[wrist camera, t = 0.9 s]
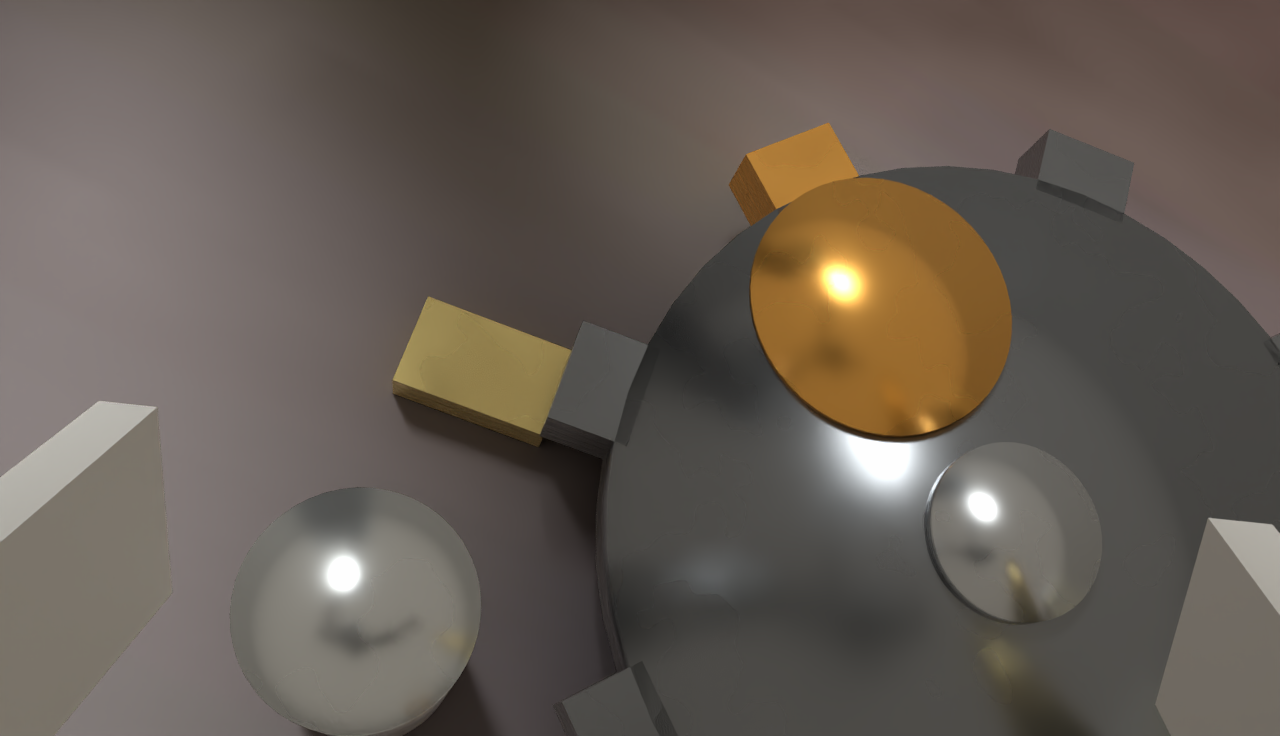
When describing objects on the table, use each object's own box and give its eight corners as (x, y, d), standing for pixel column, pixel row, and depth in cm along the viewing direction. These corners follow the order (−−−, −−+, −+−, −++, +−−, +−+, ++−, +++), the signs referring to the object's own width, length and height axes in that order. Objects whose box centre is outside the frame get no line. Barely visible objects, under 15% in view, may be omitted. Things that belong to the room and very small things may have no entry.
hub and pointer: (464, 223, 33) (467, 204, 32) (1112, 470, 34) (1136, 460, 33) (350, 493, 30) (348, 483, 29) (1059, 750, 31) (1084, 750, 30)
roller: (326, 549, 30) (291, 453, 20) (479, 605, 30) (515, 535, 20) (258, 710, 28) (187, 687, 19) (420, 766, 28) (428, 770, 19)
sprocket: (690, 28, 34) (863, -410, 22) (1410, 315, 36) (1972, 68, 23) (381, 861, 26) (360, 960, 13) (1326, 1183, 28) (2117, 1546, 15)
